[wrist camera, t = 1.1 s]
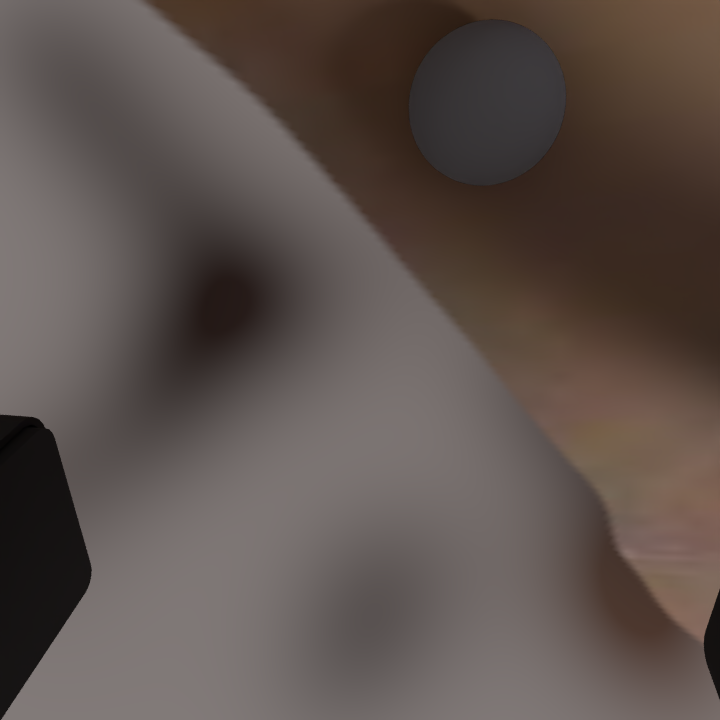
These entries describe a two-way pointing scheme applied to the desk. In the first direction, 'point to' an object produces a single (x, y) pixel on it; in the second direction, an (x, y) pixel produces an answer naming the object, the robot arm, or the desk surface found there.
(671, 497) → the desk surface
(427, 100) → the grey ball
